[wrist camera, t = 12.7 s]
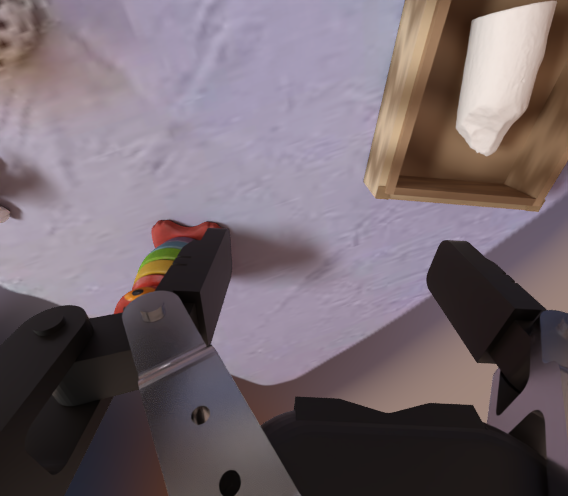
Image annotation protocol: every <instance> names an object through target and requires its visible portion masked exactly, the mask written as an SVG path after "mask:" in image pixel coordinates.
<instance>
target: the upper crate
mask: <svg viewBox="0 0 568 496" xmlns="http://www.w3.org/2000/svg"><path fill="white" fill-rule="evenodd" d="M545 1H557V4H556V8H555V12H554V15H553V19H552V23H551V27H550V30H549V34H548V38H547V44H546V49H545V54H544V58H543V60H542V63H541V65H540V67H539V70H538V72H537V75H536V79H535V83H534V87H533V90H532V94H531V97H530V101H529V104H528V108H527V109H526V111H525V112H524V113H523V115H522V116H521V117H520V118H519V119H518V120H516V121H515V122H514V123H513V124H512V126H511V127H510V128H509V130H508V131H507V133H506V134H505V135H504V137H503V140H502V141H501V143H500V145H499V147H498V148H497V150H496V152H494V153H493V154H491V155H489V156H485V155H483V154H480V153H477V152H476V151H475V150H473V149H472V148H470V146H469V145H468V143H467V142H466V141H465V138H463V137H462V136H461V134H459V132H458V131H457V130H456V120H457V110H458V104H459V98H460V92H461V85H462V80H463V74H464V66H465V61H466V56H467V49H468V42H469V35H470V28H471V21H472V20H473V19H476V18H478V17H482V16H485V15H488V14H491V13H495V12H499V11H502V10H507V9H511V8H514V7H519V6H524V5H529V4H533V3H538V2H545ZM567 161H568V0H437V2H436V6H435V10H434V13H433V17H432V20H431V24H430V28H429V31H428V35H427V38H426V42H425V46H424V49H423V53H422V56H421V60H420V64H419V67H418V71H417V75H416V78H415V82H414V85H413V89H412V93H411V96H410V100H409V103H408V107H407V111H406V114H405V118H404V121H403V125H402V129H401V132H400V136H399V139H398V143H397V147H396V150H395V154H394V157H393V161H392V165H391V168H390V172H389V175H388V179H387V183H386V189H385V193H386V194H392V195H404V196H416V197H429V198H441V199H453V200H466V201H478V202H490V203H503V204H515V205H527V206H539V207H540V205H541V204H542V202H543V200H544V199H545V197H546V195H547V194H548V192H549V190H550V189H551V187H552V186H553V184H554V182H555V181H556V179H557V177H558V176H559V174H560V172H561V171H562V169H563V168H564V166H565V164H566V163H567Z"/></svg>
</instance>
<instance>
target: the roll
mask: <svg viewBox="0 0 568 496" xmlns="http://www.w3.org/2000/svg"><path fill="white" fill-rule="evenodd" d="M556 4H557V1H545V2H538V3H533V4H529V5H524V6H519V7H514V8H511V9H507V10H502V11H499V12H495V13H491V14H488V15H485V16H482V17H478V18H476V19H473V20H472V21H471V28H470V35H469V42H468V49H467V56H466V61H465V66H464V74H463V80H462V85H461V92H460V98H459V104H458V110H457V120H456V130H457V131H458V132H459V134H461V136H462V137H463V138H465V141H466V142H467V143H468V145H469V146H470V148H472V149H473V150H475V151H476V152H477V153H480V154H483V155H485V156H489V155H491V154H493V153H494V152H496V150H497V148H498V147H499V145H500V143H501V141H502V140H503V137H504V135H505V134H506V133H507V131H508V130H509V128H510V127H511V126H512V124H513V123H514V122H515V121H516V120H518V119H519V118H520V117H521V116H522V115H523V113H524V112H525V111H526V109H527V108H528V104H529V101H530V97H531V94H532V90H533V87H534V83H535V79H536V75H537V72H538V70H539V67H540V65H541V63H542V60H543V58H544V54H545V49H546V44H547V38H548V34H549V30H550V27H551V23H552V19H553V15H554V12H555V8H556Z"/></svg>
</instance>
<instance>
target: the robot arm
mask: <svg viewBox="0 0 568 496" xmlns="http://www.w3.org/2000/svg"><path fill="white" fill-rule="evenodd" d="M231 273H232V256H231V242H230V232H229V229H226V228H208V229H207V230H206V232H205V234H204V235H203V237H202V239H201V240H192V241H191V242H189V243H188V244H187V245H185V246H184V247H183V248H182V249H181V251H180V252H179V254H178V255H177V258H175V260H174V261H173V263H172V265H171V266H170V268H169V269H168V271H167V272H166V274H165V275H164V277H163V278H162V280H161V282H160V283H159V285H158V286H157V288H156V289H155V291H154V292H149V293H146V294H143V295H141V296H139V297H137V298H136V299H134V300H133V301H131V302H130V303H129V304H128V305H127V306H126V308H125V309H124V311H123V312H122V313H117V314H112V315H106V316H101V317H95V318H90V319H89V318H88V316H87V314H86V312H85V311H84V309H82V308H81V307H78V306H73V305H65V306H59V307H55V308H51V309H48V310H45V311H43V312H41V313H39V314H37V315H35V316H33V317H31V318H30V319H29V320H27V321H26V322H24V323H23V324H22V325H21V326H20V327H19V328H18V329H17V330H16V331H15V332H14V333H13V334H12V335H11V336H10V337H9V338H7V340H5V341H4V342H3V344H1V345H0V496H64V495H65V493H66V491H67V489H68V487H69V485H70V483H71V481H72V479H73V477H74V475H75V473H76V471H77V469H78V467H79V465H80V463H81V461H82V459H83V457H84V455H85V453H86V451H87V449H88V447H89V445H90V443H91V441H92V439H93V437H94V435H95V433H96V430H97V429H98V427H99V425H100V423H101V421H102V419H103V417H104V415H105V412H106V411H107V409H108V406H109V405H110V403H111V401H112V399H113V397H114V396H116V395H120V394H123V393H127V392H131V391H134V390H139V389H140V393H141V396H142V401H143V404H144V408H145V411H146V415H147V419H148V422H149V426H150V429H151V433H152V437H153V441H154V444H155V448H156V451H157V455H158V459H159V462H160V466H161V469H162V473H163V476H164V481H165V484H166V488H167V491H168V495H169V496H568V313H565V312H561V311H556V310H546V309H545V308H544V307H543V306H542V305H541V304H540V303H539V302H537V301H536V300H535V299H534V298H533V297H532V296H531V295H530V294H529V293H528V292H526V291H525V290H524V289H523V288H522V287H521V286H520V285H519V284H518V283H515V281H514V280H513V279H512V278H511V277H510V276H509V275H506V273H505V272H504V271H503V270H502V269H501V268H500V267H498V265H496V264H495V263H494V262H492V261H490V260H488V259H487V258H485V257H484V256H483V255H482V254H481V253H480V252H479V251H478V250H477V249H475V248H474V247H473V246H472V245H471V244H470V243H469V242H467V241H453V240H444V241H442V242H441V243H440V245H439V247H438V249H437V252H436V254H435V256H434V259H433V261H432V264H431V266H430V268H429V271H428V273H427V286H428V289H429V290H430V292H431V293H432V295H433V297H434V298H435V300H436V301H437V303H438V304H439V306H440V307H441V309H442V310H443V312H444V313H445V315H446V316H447V318H448V319H449V321H450V322H451V324H452V325H453V327H454V328H455V330H456V331H457V333H458V334H459V336H460V338H461V339H462V341H463V342H464V344H465V345H466V347H467V348H468V350H469V351H470V353H471V354H472V356H473V357H474V359H475V360H476V362H477V363H492V364H497V366H498V367H499V368H498V369H497V370H496V371H495V373H494V375H493V380H492V388H491V396H490V404H489V412H488V420H487V424H486V423H484V422H482V421H481V419H480V417H479V416H478V414H477V412H476V410H475V408H474V406H473V405H460V404H439V403H428V404H424V405H420V406H416V407H412V408H409V409H404V410H400V411H397V412H393V413H384V412H381V411H377V410H374V409H371V408H368V407H364V406H361V405H358V404H355V403H351V402H348V401H345V400H342V399H334V398H313V397H295V404H294V411H290V412H286V413H283V414H281V415H278V416H276V417H274V418H272V419H270V420H269V421H267V422H265V423H264V424H262V425H261V426H260V425H259V423H258V421H257V420H256V418H255V416H254V414H253V413H252V411H251V409H250V408H249V406H248V404H247V403H246V401H245V399H244V397H243V396H242V394H241V392H240V391H239V389H238V387H237V385H236V384H235V382H234V380H233V378H232V377H231V375H230V373H229V372H228V370H227V368H226V366H225V365H224V363H223V361H222V360H221V358H220V356H219V354H218V353H217V351H216V350H215V348H214V347H213V346H212V345H210V344H211V341H212V338H213V334H214V331H215V328H216V325H217V321H218V318H219V315H220V312H221V308H222V305H223V302H224V298H225V295H226V292H227V289H228V285H229V282H230V279H231Z"/></svg>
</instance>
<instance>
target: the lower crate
mask: <svg viewBox="0 0 568 496" xmlns="http://www.w3.org/2000/svg"><path fill="white" fill-rule="evenodd" d="M436 2H437V0H405V3H404V7H403V12H402V16H401V20H400V25H399V29H398V33H397V38H396V42H395V46H394V51H393V55H392V59H391V64H390V68H389V72H388V77H387V81H386V85H385V90H384V94H383V98H382V103H381V107H380V111H379V116H378V120H377V124H376V129H375V133H374V137H373V142H372V146H371V150H370V155H369V159H368V163H367V168H366V172H365V176H364V181H363V182H364V183H365V185H366V186H367V187H368V189H369V190H370V191H371V193H372V194H373V196H374V197H375V198H376V199H396V200H408V201H420V202H433V203H445V204H457V205H470V206H482V207H494V208H507V209H519V210H526V211H536V212H539V210H540V208H541V207H542V205H543V203H544V202H545V199H544V200H543V202H542V204H541V205H540V207H539V206H527V205H515V204H503V203H490V202H478V201H466V200H453V199H441V198H429V197H416V196H404V195H392V194H386V193H385V189H386V183H387V179H388V175H389V172H390V168H391V165H392V161H393V157H394V154H395V150H396V147H397V143H398V139H399V136H400V132H401V129H402V125H403V121H404V118H405V114H406V111H407V107H408V103H409V100H410V96H411V93H412V89H413V85H414V82H415V78H416V75H417V71H418V67H419V64H420V60H421V56H422V53H423V49H424V46H425V42H426V38H427V35H428V31H429V28H430V24H431V20H432V17H433V13H434V10H435V6H436ZM560 173H561V172H560ZM557 178H558V177H557ZM549 191H550V190H549ZM546 196H547V195H546Z"/></svg>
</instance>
